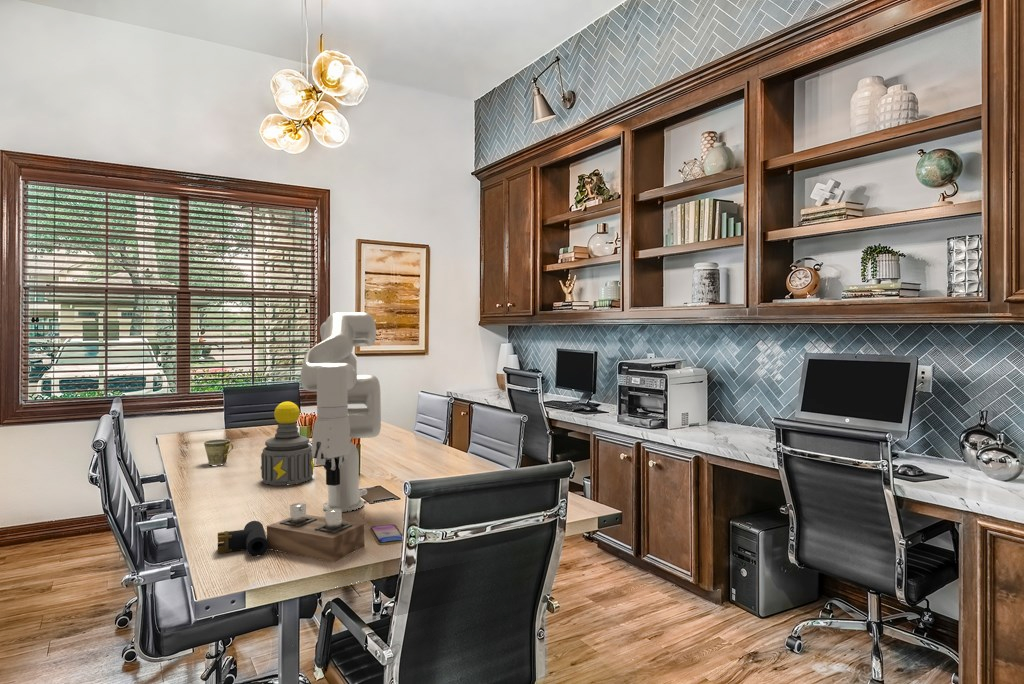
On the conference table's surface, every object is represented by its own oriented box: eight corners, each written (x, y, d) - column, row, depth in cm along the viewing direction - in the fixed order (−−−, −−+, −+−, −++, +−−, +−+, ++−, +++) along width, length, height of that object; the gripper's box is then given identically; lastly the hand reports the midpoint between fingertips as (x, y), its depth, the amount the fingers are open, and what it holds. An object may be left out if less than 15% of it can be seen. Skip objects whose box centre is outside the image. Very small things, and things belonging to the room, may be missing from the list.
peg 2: (333, 531, 161) (332, 507, 160) (345, 533, 159) (344, 509, 159) (322, 535, 157) (322, 511, 157) (334, 538, 155) (334, 513, 155)
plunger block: (300, 534, 171) (300, 512, 170) (364, 546, 161) (364, 522, 161) (267, 548, 160) (266, 524, 160) (333, 562, 150) (332, 536, 150)
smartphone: (395, 526, 179) (395, 522, 179) (407, 543, 165) (407, 539, 165) (369, 529, 176) (368, 526, 176) (379, 547, 162) (378, 543, 162)
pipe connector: (218, 541, 151) (217, 524, 164) (218, 563, 151) (217, 543, 164) (268, 535, 156) (263, 519, 170) (268, 556, 156) (263, 538, 170)
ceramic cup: (198, 466, 256) (198, 442, 256) (216, 461, 266) (216, 438, 266) (224, 468, 253) (223, 444, 252) (241, 463, 262) (241, 440, 262)
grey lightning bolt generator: (306, 486, 224) (305, 404, 223) (253, 487, 223) (252, 404, 222) (319, 473, 243) (318, 398, 242) (270, 474, 241) (269, 398, 241)
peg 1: (298, 525, 166) (298, 502, 166) (309, 527, 164) (309, 504, 164) (287, 529, 162) (286, 506, 162) (298, 531, 160) (298, 508, 160)
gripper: (340, 409, 165) (341, 477, 165) (299, 415, 152) (300, 489, 152) (363, 410, 162) (363, 479, 162) (323, 417, 149) (324, 492, 149)
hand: (333, 484), depth 157 cm, fingers closed
